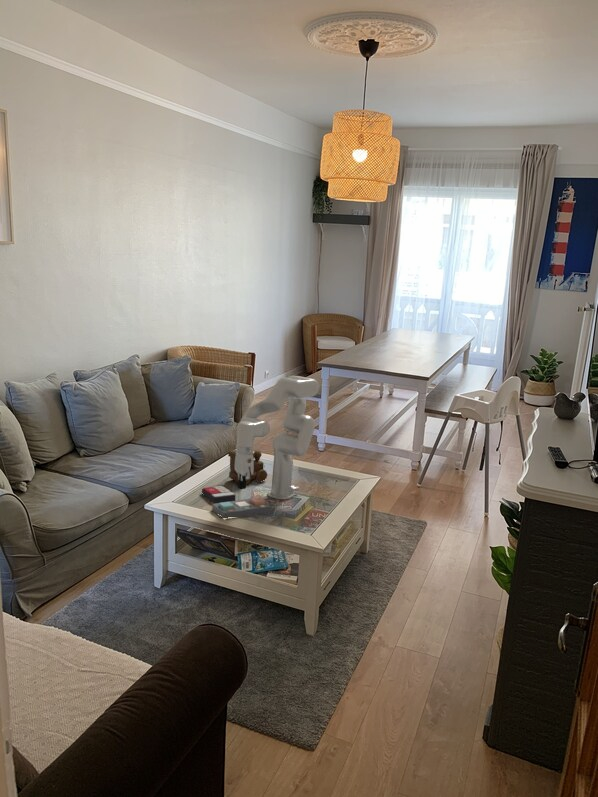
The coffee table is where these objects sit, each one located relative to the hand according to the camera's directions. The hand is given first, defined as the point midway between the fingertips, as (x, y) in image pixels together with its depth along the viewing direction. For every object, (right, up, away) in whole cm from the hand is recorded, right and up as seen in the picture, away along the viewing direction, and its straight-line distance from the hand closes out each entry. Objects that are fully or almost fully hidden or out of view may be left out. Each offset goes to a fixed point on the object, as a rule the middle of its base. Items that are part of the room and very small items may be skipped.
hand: (241, 488), depth 278 cm
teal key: (-7, -9, -2) cm, 12 cm away
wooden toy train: (-1, -3, +45) cm, 45 cm away
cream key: (0, -10, +2) cm, 10 cm away
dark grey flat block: (0, -11, +3) cm, 11 cm away
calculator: (-13, -8, +17) cm, 23 cm away
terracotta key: (+7, -9, +7) cm, 13 cm away
